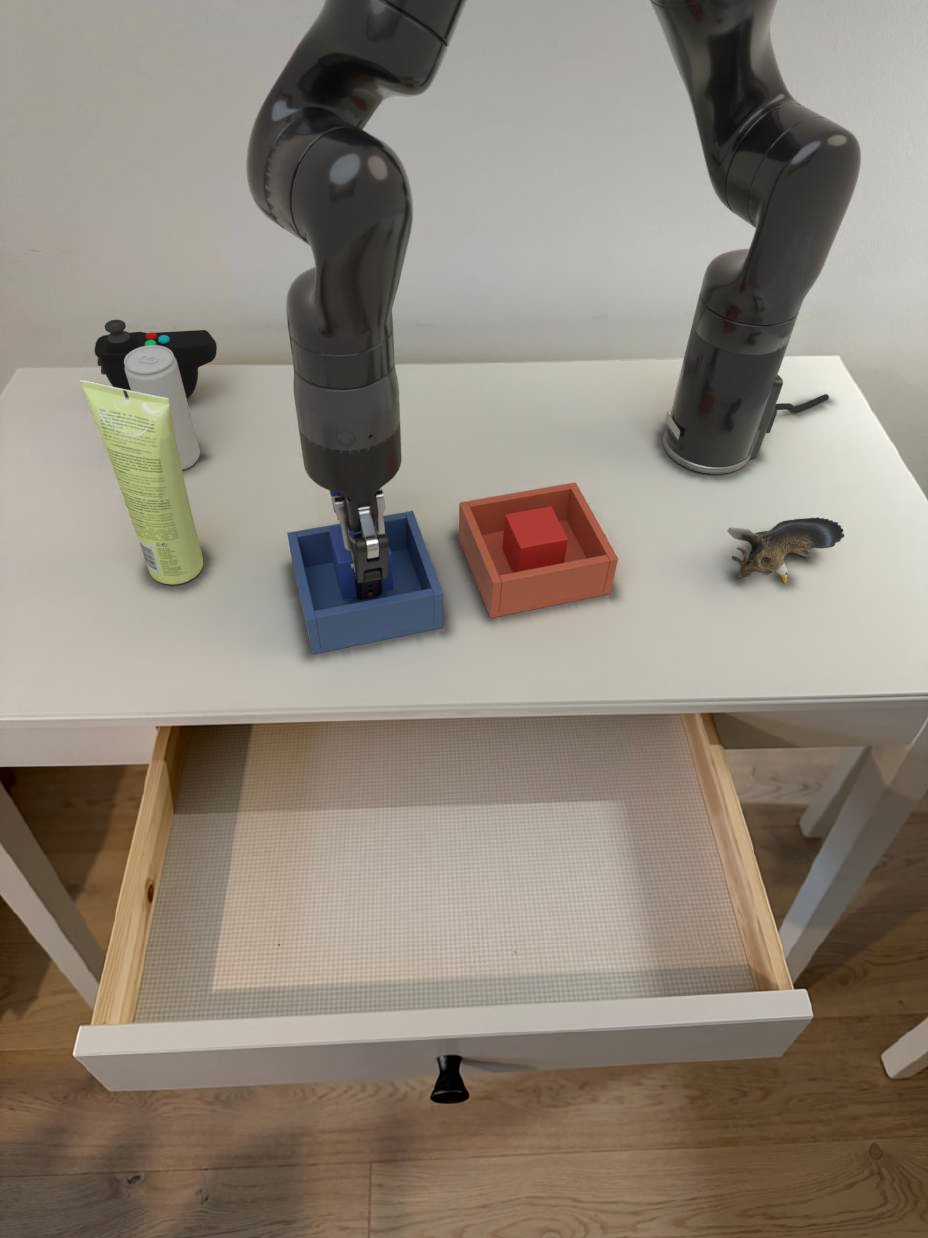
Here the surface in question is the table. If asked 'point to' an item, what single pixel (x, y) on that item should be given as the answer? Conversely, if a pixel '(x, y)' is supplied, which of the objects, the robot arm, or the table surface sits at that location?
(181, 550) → the tube
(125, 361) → the upturned grey cup
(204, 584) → the table surface
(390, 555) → the blue block
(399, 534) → the blue bin
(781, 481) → the table surface
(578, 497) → the red bin
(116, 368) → the controller
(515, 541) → the red block
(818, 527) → the eagle figurine
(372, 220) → the robot arm
